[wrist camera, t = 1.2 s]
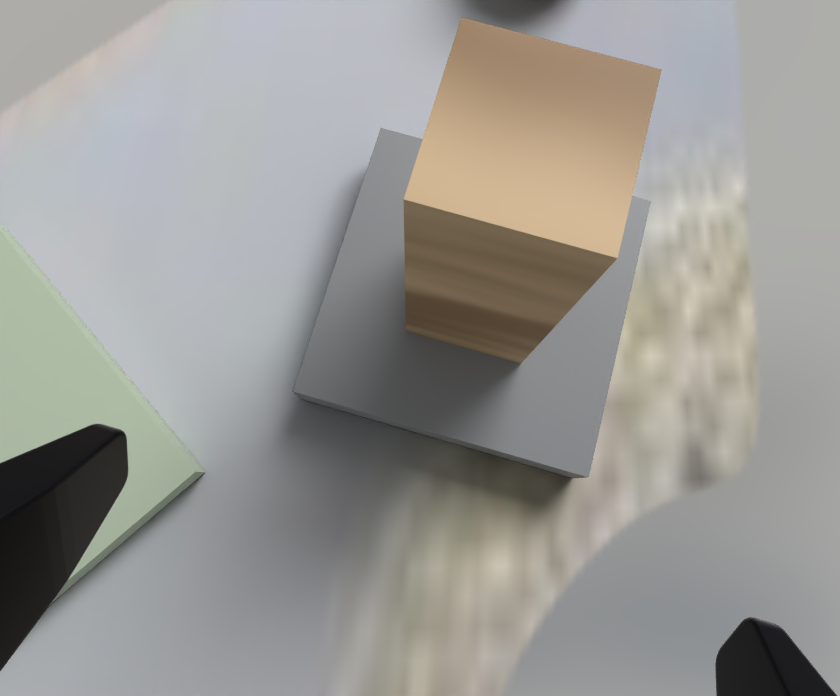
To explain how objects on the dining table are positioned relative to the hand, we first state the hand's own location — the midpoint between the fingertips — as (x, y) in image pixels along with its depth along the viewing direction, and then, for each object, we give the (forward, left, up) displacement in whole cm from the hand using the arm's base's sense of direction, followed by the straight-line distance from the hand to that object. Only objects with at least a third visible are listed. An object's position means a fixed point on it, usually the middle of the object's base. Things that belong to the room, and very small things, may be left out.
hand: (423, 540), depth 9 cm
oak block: (+7, -1, -11) cm, 14 cm away
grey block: (+7, -1, -13) cm, 15 cm away
